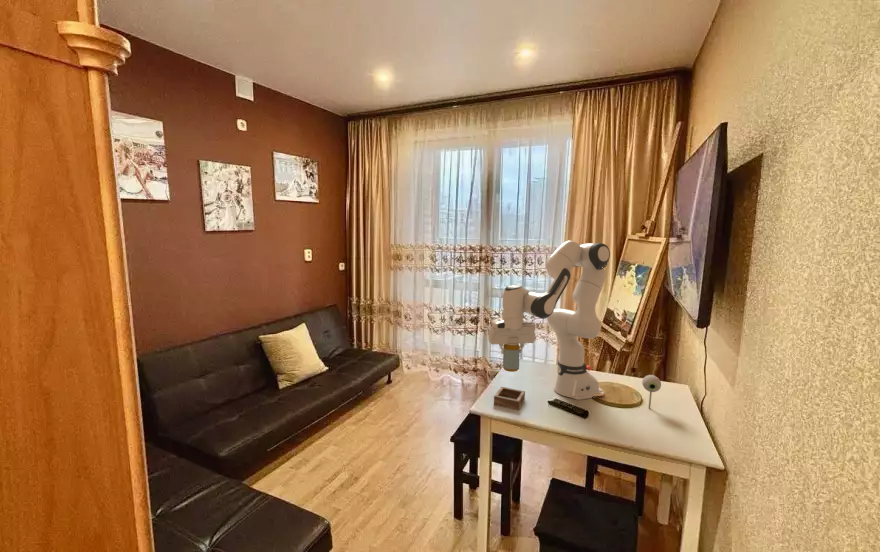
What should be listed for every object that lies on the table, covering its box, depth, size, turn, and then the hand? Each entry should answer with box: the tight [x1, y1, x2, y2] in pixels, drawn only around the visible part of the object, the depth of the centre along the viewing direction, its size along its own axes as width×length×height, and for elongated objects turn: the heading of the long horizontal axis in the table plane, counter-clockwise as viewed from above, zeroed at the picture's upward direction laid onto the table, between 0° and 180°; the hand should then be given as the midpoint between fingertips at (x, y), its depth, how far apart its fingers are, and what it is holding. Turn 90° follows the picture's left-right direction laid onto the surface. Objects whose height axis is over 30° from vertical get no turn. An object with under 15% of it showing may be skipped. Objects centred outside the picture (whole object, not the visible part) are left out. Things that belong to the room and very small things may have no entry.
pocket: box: [493, 386, 526, 411], centre depth 170 cm, size 11×11×4 cm
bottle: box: [502, 337, 521, 373], centre depth 167 cm, size 7×7×15 cm
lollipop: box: [641, 374, 662, 410], centre depth 164 cm, size 7×7×15 cm
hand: (511, 352), depth 167 cm, fingers closed on bottle, 6 cm apart
